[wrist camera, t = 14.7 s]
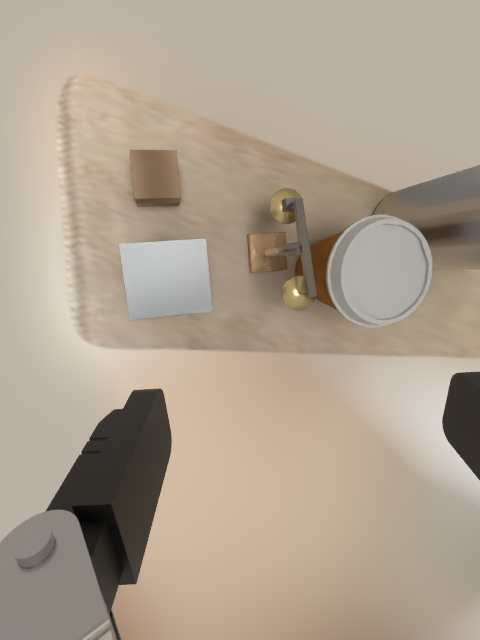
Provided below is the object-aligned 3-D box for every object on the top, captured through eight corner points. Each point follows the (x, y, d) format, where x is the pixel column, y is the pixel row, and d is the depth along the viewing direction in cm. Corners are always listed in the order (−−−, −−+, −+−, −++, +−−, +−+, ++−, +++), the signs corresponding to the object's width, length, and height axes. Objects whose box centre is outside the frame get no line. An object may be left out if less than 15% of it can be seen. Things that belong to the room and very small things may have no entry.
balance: (280, 201, 36) (334, 173, 24) (285, 297, 37) (336, 312, 26) (245, 203, 35) (283, 174, 24) (251, 301, 37) (290, 317, 25)
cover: (191, 247, 33) (205, 238, 22) (196, 295, 34) (212, 311, 23) (134, 251, 32) (118, 243, 21) (141, 301, 33) (129, 320, 22)
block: (175, 164, 33) (176, 150, 29) (178, 205, 33) (180, 198, 29) (133, 163, 32) (129, 149, 28) (138, 206, 32) (134, 198, 29)
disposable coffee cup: (352, 311, 40) (429, 330, 28) (278, 309, 38) (329, 329, 26) (360, 231, 38) (445, 217, 27) (284, 225, 36) (341, 206, 25)
